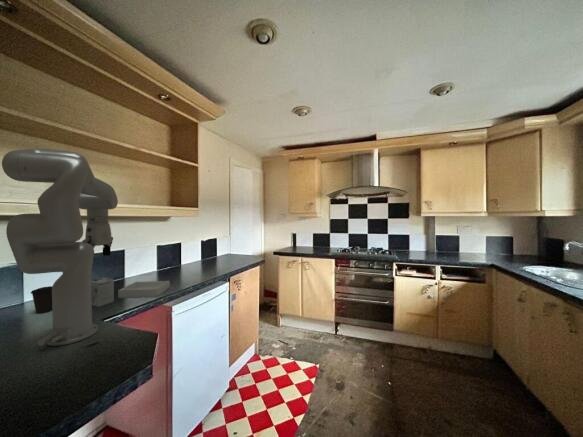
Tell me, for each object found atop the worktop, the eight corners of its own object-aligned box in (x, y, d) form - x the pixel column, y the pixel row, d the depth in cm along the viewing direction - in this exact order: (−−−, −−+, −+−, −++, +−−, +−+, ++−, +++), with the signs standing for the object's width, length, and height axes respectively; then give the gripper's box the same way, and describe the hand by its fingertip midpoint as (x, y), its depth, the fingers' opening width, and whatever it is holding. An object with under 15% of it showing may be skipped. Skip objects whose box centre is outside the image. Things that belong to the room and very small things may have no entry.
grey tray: (156, 297, 112) (156, 289, 112) (118, 298, 111) (118, 290, 111) (169, 288, 126) (169, 280, 126) (136, 288, 125) (136, 281, 125)
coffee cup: (25, 316, 91) (24, 291, 91) (39, 308, 99) (39, 285, 99) (51, 313, 94) (50, 289, 94) (63, 306, 102) (63, 283, 102)
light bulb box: (83, 303, 104) (83, 280, 104) (100, 298, 111) (100, 276, 110) (98, 307, 101) (98, 282, 100) (114, 301, 107) (114, 278, 107)
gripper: (91, 221, 97) (92, 261, 97) (119, 220, 114) (120, 253, 114) (72, 221, 96) (73, 261, 97) (103, 220, 113) (104, 254, 114)
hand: (98, 257), depth 105 cm, fingers open, 9 cm apart
